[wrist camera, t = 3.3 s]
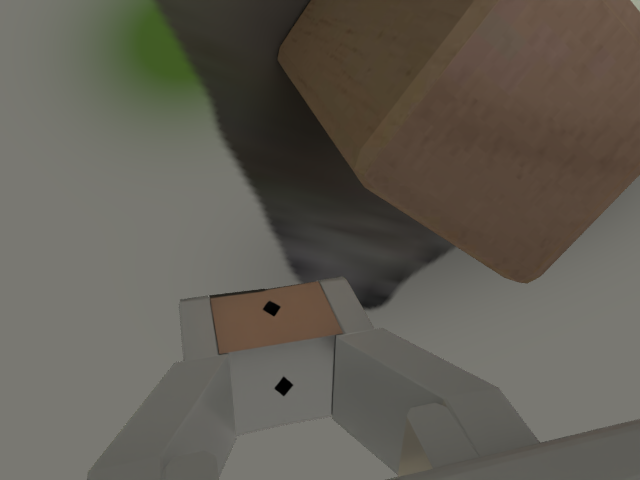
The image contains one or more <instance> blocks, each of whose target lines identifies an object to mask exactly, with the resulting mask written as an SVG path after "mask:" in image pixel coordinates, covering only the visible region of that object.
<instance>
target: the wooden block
mask: <svg viewBox="0 0 640 480" xmlns="http://www.w3.org/2000/svg"><path fill="white" fill-rule="evenodd" d="M277 60H278V61H279V63H280V65H281V66H282V68H283V69H284V71H285V72H286V74H287V75H288V77H289V78H290V80H291V81H292V83H293V84H294V86H295V87H296V88H297V90H298V91H299V93H300V94H301V96H302V97H303V99H304V100H305V102H306V103H307V104H308V106H309V107H310V109H311V110H312V112H313V113H314V115H315V116H316V118H317V119H318V121H319V122H320V123H321V125H322V126H323V128H324V129H325V131H326V132H327V134H328V135H329V137H330V138H331V139H332V141H333V142H334V144H335V145H336V147H337V148H338V150H339V151H340V153H341V154H342V156H343V157H344V158H345V160H346V161H347V163H348V164H349V166H350V167H351V169H352V170H353V172H354V173H355V174H356V176H357V177H358V179H359V180H360V182H361V183H362V185H363V186H364V187H365V188H367V189H368V190H370V191H371V192H373V193H374V194H376V195H377V196H379V197H380V198H382V199H384V200H385V201H387V202H388V203H390V204H391V205H393V206H394V207H396V208H397V209H399V210H401V211H402V212H404V213H405V214H407V215H408V216H410V217H411V218H413V219H414V220H416V221H418V222H419V223H421V224H422V225H424V226H425V227H427V228H428V229H430V230H432V231H433V232H435V233H436V234H438V235H439V236H441V237H442V238H444V239H445V240H447V241H449V242H450V243H452V244H453V245H455V246H456V247H458V248H459V249H461V250H462V251H464V252H466V253H467V254H469V255H470V256H472V257H473V258H475V259H476V260H478V261H480V262H481V263H483V264H484V265H486V266H487V267H489V268H491V269H492V270H494V271H495V272H497V273H498V274H500V275H501V276H503V277H504V278H507V279H510V280H514V281H516V282H521V283H529V282H531V281H533V280H535V279H536V278H538V277H540V276H541V275H542V274H543V273H544V272H545V271H546V270H547V269H548V268H549V267H550V266H551V265H552V264H553V263H554V262H555V261H556V260H557V259H558V258H559V257H560V256H561V255H562V254H563V253H564V252H565V251H566V250H567V249H568V248H569V247H570V246H571V245H572V243H573V242H575V241H576V239H577V238H578V237H579V236H580V235H581V234H582V233H583V232H584V231H585V230H586V229H587V228H588V227H589V226H590V225H591V224H592V223H593V222H594V221H595V220H596V219H597V218H598V217H599V216H600V215H601V214H602V213H603V212H604V211H605V210H606V209H607V208H608V207H609V206H610V205H611V204H612V203H613V202H614V200H615V199H616V198H617V197H618V196H619V195H620V194H621V193H622V192H623V191H624V190H625V189H626V188H627V187H628V186H629V185H630V184H631V183H632V182H633V181H634V180H635V179H636V178H637V177H638V176H639V175H640V11H639V10H638V9H637V8H636V6H635V5H634V4H633V3H632V1H631V0H311V1H310V2H309V4H308V5H307V7H306V8H305V10H304V11H303V13H302V14H301V16H300V17H299V19H298V20H297V22H296V23H295V25H294V26H293V28H292V29H291V31H290V32H289V34H288V35H287V37H286V38H285V40H284V41H283V43H282V44H281V46H280V49H279V54H278V58H277Z"/></svg>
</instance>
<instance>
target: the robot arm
mask: <svg viewBox="0 0 640 480" xmlns="http://www.w3.org/2000/svg"><path fill="white" fill-rule="evenodd" d="M209 298H210V299H209ZM179 313H180V326H181V338H182V351H183V361H181V362H176V363H174V364H173V365H172V367H171V368H170V369H169V370H168V372H167V373H166V374H165V375H164V377H163V378H162V379H161V380H160V382H159V383H158V384H157V385H156V387H155V388H154V389H153V391H152V392H151V393H150V394H149V396H148V397H147V398H146V399H145V401H144V402H143V403H142V405H141V406H140V407H139V408H138V409H137V411H136V412H135V413H134V415H133V416H132V417H131V418H130V420H129V421H128V422H127V423H126V425H125V426H124V427H123V429H122V430H121V431H120V432H119V433H118V435H117V436H116V437H115V439H114V440H113V441H112V442H111V444H110V445H109V446H108V447H107V449H106V450H105V451H104V452H103V454H102V455H101V456H100V458H99V459H98V460H97V461H96V463H95V464H94V465H93V467H92V468H91V469H90V470H89V471H88V476H87V480H219V477H220V475H221V472H222V470H223V468H224V466H225V463H226V461H227V459H228V457H229V454H230V452H231V450H232V448H233V445H234V443H235V441H236V436H239V435H244V434H248V433H252V432H257V431H261V430H265V429H270V428H274V427H278V426H282V425H284V424H285V425H288V424H293V423H299V422H305V421H310V420H316V419H322V418H327V417H332V419H333V420H334V421H335V422H336V423H338V424H339V425H340V426H341V427H342V428H343V429H345V430H346V431H347V432H348V433H349V434H350V435H352V436H353V437H354V438H355V439H356V440H357V441H359V442H360V443H361V444H362V445H363V446H364V447H366V448H367V449H368V450H369V451H370V452H372V453H373V454H374V455H375V456H376V457H377V458H378V459H380V460H381V461H382V462H383V463H384V464H386V465H387V466H388V467H389V468H390V469H391V470H393V471H394V472H395V473H396V474H397V475H398V477H395V478H391V479H387V480H640V419H637V420H633V421H629V422H625V423H621V424H616V425H612V426H608V427H604V428H599V429H595V430H591V431H587V432H583V433H579V434H575V435H570V436H566V437H562V438H558V439H554V440H549V441H545V442H541V443H540V442H539V441H538V440H537V438H536V437H535V435H534V434H533V433H532V431H531V430H530V429H529V427H528V426H527V425H526V423H525V422H524V421H523V419H522V418H521V417H520V416H519V414H518V413H517V411H516V410H515V409H514V407H513V406H512V405H511V404H510V402H509V401H508V399H507V398H506V397H505V396H504V394H503V393H502V392H501V390H500V389H499V388H498V387H496V386H494V385H492V384H490V383H488V382H486V381H484V380H482V379H480V378H478V377H477V376H475V375H473V374H471V373H469V372H467V371H465V370H463V369H461V368H459V367H457V366H455V365H453V364H451V363H449V362H447V361H445V360H444V359H441V358H440V357H438V356H436V355H434V354H432V353H430V352H428V351H426V350H424V349H422V348H420V347H418V346H416V345H414V344H412V343H410V342H409V341H407V340H404V339H402V338H401V337H399V336H397V335H395V334H393V333H391V332H389V331H387V330H385V329H383V328H379V329H374V327H373V326H372V323H371V322H370V320H369V318H368V316H367V315H366V313H365V311H364V309H363V308H362V306H361V304H360V302H359V301H358V299H357V297H356V295H355V294H354V292H353V290H352V288H351V287H350V285H349V283H348V281H347V280H346V278H344V277H336V278H330V279H324V280H318V281H316V282H310V283H304V284H297V285H291V286H284V287H277V288H271V289H259V290H251V291H242V292H235V293H226V294H217V295H210V296H209V297H208V296H202V297H194V298H188V299H180V301H179Z"/></svg>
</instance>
